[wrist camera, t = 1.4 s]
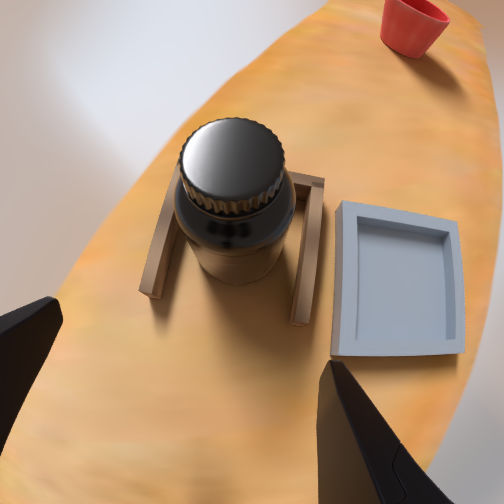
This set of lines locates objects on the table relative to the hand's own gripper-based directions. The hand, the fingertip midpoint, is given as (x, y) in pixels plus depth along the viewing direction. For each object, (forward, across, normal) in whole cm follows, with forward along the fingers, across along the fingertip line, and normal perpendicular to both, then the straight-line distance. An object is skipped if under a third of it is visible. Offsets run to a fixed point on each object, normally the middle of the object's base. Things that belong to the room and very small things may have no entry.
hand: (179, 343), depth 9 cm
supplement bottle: (+16, 0, +4) cm, 16 cm away
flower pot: (+44, -19, -24) cm, 53 cm away
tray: (+15, -14, +5) cm, 21 cm away
